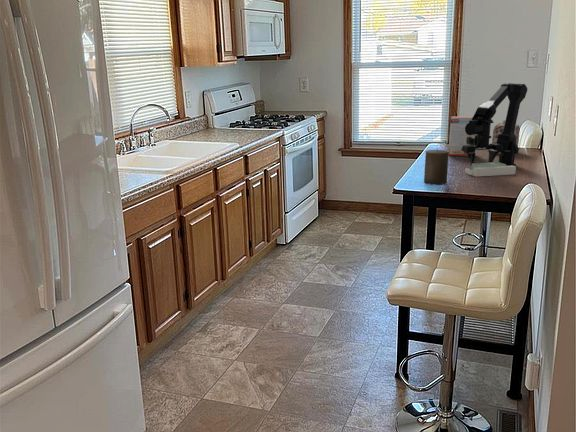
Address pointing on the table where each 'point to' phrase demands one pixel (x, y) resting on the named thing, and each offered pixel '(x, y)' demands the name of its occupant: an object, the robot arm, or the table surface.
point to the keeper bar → (487, 164)
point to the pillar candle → (436, 167)
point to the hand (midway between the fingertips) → (480, 165)
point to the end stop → (491, 171)
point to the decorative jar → (499, 129)
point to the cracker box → (458, 135)
